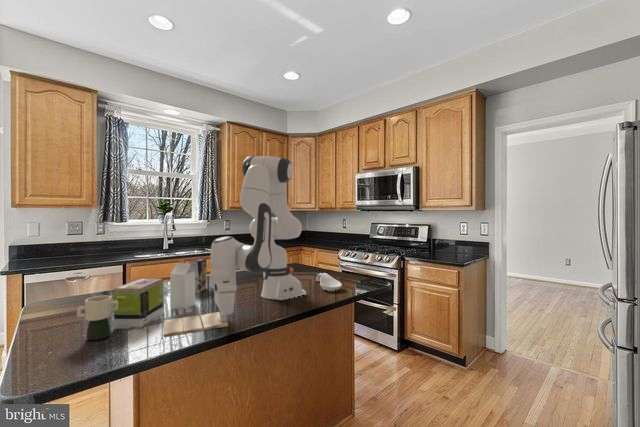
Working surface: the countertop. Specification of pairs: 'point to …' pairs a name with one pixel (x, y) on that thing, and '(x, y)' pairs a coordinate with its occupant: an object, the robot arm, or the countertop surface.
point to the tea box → (138, 303)
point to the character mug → (98, 315)
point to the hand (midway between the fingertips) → (222, 319)
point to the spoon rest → (328, 282)
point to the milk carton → (182, 286)
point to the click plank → (212, 321)
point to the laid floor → (182, 325)
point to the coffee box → (199, 273)
